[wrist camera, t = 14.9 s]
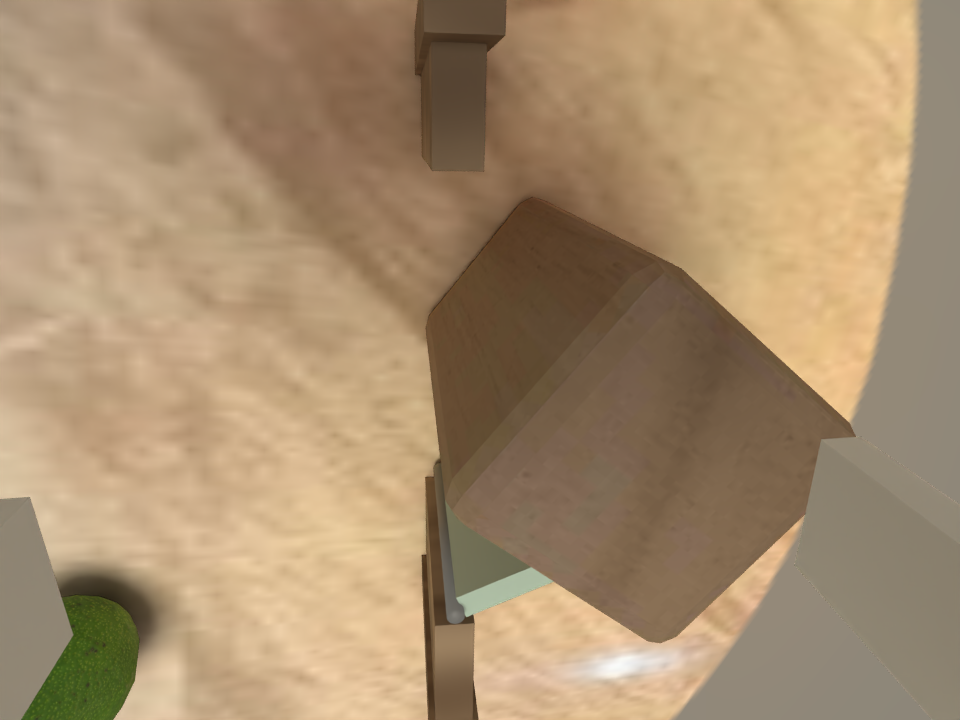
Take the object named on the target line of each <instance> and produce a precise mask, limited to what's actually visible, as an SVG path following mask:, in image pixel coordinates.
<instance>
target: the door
mask: <svg viewBox="0 0 960 720" xmlns="http://www.w3.org/2000/svg"><path fill="white" fill-rule="evenodd" d="M434 480H435V491H436V502H437V514H438V525H439V536H440V547H441V559H442V570H443V581H444V592H445V604H446V615H447V620H448V621H449V622H450V623H452V624H458V623H460V622H462V621H463V620H464V618H465V616H466V617H468V616H471V615H473V614H475V613H478V612H480V611H483V610H485V609H488V608H490V607H493V606H495V605H498V604H500V603H502V602H505V601H507V600H510V599H512V598H515V597H517V596H520V595H522V594H525V593H527V592H529V591H532V590H534V589H537V588H539V587H542V586H544V585H547V584H549V583H551V582H554V581H552V580H551V579H549V578H547V577H546V576H544V575H543V574H541V573H540V572H538V571H536V570H535V569H533V568H532V567H530V566H528V565H527V564H525V563H524V562H522V561H521V560H519V559H517V558H516V557H514V556H513V555H511V554H510V553H508V552H506V551H505V550H503V549H502V548H500V547H499V546H497V545H495V544H494V543H492V542H491V541H489V540H488V539H486V538H484V537H483V536H481V535H480V534H478V533H477V532H475V531H473V530H472V529H470V528H469V527H467V526H466V525H464V524H463V523H462V522H461V521H459V520H458V519H457V518H456V516H455V515H454V513H453V512H452V510H451V509H450V507H449V506H448V504H447V502H446V501H445V495H444V486H443V477H442V469H441V463H437V464H436V465H435V466H434Z"/></svg>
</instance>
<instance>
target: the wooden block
mask: <svg viewBox="0 0 960 720" xmlns="http://www.w3.org/2000/svg"><path fill="white" fill-rule="evenodd" d="M426 336H427V345H428V353H429V362H430V371H431V380H432V389H433V398H434V407H435V415H436V424H437V433H438V442H439V451H440V460H441V469H442V477H443V486H444V495H445V501H446V502H447V504H448V506H449V507H450V509H451V510H452V512H453V513H454V515H455V516H456V518H457V519H458V520H459V521H461V522H462V523H463V524H464V525H466V526H467V527H469V528H470V529H472V530H473V531H475V532H477V533H478V534H480V535H481V536H483V537H484V538H486V539H488V540H489V541H491V542H492V543H494V544H495V545H497V546H499V547H500V548H502V549H503V550H505V551H506V552H508V553H510V554H511V555H513V556H514V557H516V558H517V559H519V560H521V561H522V562H524V563H525V564H527V565H528V566H530V567H532V568H533V569H535V570H536V571H538V572H540V573H541V574H543V575H544V576H546V577H547V578H549V579H551V580H552V581H554V582H555V583H557V584H558V585H560V586H562V587H563V588H565V589H566V590H568V591H569V592H571V593H573V594H574V595H576V596H577V597H579V598H580V599H582V600H584V601H585V602H587V603H588V604H590V605H591V606H593V607H595V608H596V609H598V610H599V611H601V612H602V613H604V614H606V615H607V616H609V617H610V618H612V619H614V620H615V621H617V622H618V623H620V624H621V625H623V626H625V627H626V628H628V629H629V630H631V631H632V632H634V633H636V634H637V635H639V636H640V637H642V638H643V639H645V640H647V641H649V642H656V643H662V642H665V641H667V640H669V639H672V638H674V637H676V636H678V635H679V634H680V633H681V632H682V631H683V630H684V629H685V628H686V627H687V626H688V625H689V624H690V623H691V622H692V621H693V620H694V619H695V618H696V617H697V616H699V615H700V614H701V613H702V612H703V611H704V610H705V609H706V608H707V607H708V606H709V605H710V604H711V603H712V602H713V601H714V600H715V599H716V598H717V597H719V596H720V595H721V594H722V593H723V592H724V591H725V590H726V589H727V588H728V587H729V586H730V585H731V584H732V583H733V582H734V581H735V580H736V579H737V578H739V577H740V576H741V575H742V574H743V573H744V572H745V571H746V570H747V569H748V568H749V567H750V566H751V565H752V564H753V563H754V562H755V561H756V560H757V559H758V558H760V557H761V556H762V555H763V554H764V553H765V552H766V551H767V550H768V549H769V548H770V547H771V546H772V545H773V544H774V543H775V542H776V541H777V540H778V539H780V538H781V537H782V536H783V535H784V534H785V533H786V532H787V531H788V530H789V529H790V528H791V527H792V526H793V525H794V524H795V523H796V522H797V521H798V520H800V519H801V518H802V517H803V516H804V515H805V513H806V508H807V504H808V499H809V494H810V490H811V485H812V480H813V476H814V471H815V466H816V462H817V457H818V452H819V448H820V443H821V439H834V438H848V437H856V436H855V434H854V432H853V430H852V427H851V425H850V423H849V422H848V421H847V420H846V419H844V418H843V417H842V416H841V415H840V414H839V413H838V412H837V411H836V410H835V409H834V408H833V407H831V406H830V405H829V404H828V403H827V402H826V401H825V400H824V399H823V398H822V397H821V396H819V395H818V394H817V393H816V392H815V391H814V390H813V389H812V388H811V387H810V386H809V385H807V384H806V383H805V382H804V381H803V380H802V379H801V378H800V377H799V376H798V375H797V374H796V373H794V372H793V371H792V370H791V369H790V368H789V367H788V366H787V365H786V364H785V363H784V362H782V361H781V360H780V359H779V358H778V357H777V356H776V355H775V354H774V353H773V352H772V351H770V350H769V349H768V348H767V347H766V346H765V345H764V344H763V343H762V342H761V341H760V340H758V339H757V338H756V337H755V336H754V335H753V334H752V333H751V332H750V331H749V330H748V329H747V328H745V327H744V326H743V325H742V324H741V323H740V322H739V321H738V320H737V319H736V318H735V317H733V316H732V315H731V314H730V313H729V312H728V311H727V310H726V309H725V308H724V307H723V306H721V305H720V304H719V303H718V302H717V301H716V300H715V299H714V298H713V297H712V296H711V295H710V294H708V293H707V292H706V291H705V290H704V289H703V288H702V287H701V286H700V285H699V284H698V283H696V282H695V281H694V280H693V279H692V278H691V277H690V276H689V275H688V274H687V273H686V272H684V271H683V270H682V269H681V268H679V267H677V266H675V265H673V264H671V263H669V262H667V261H665V260H663V259H661V258H659V257H657V256H655V255H653V254H651V253H649V252H647V251H645V250H643V249H641V248H639V247H637V246H635V245H633V244H631V243H629V242H627V241H625V240H623V239H621V238H619V237H617V236H615V235H613V234H611V233H609V232H607V231H605V230H603V229H601V228H599V227H597V226H595V225H593V224H591V223H589V222H587V221H584V220H582V219H580V218H578V217H576V216H574V215H572V214H570V213H568V212H566V211H564V210H562V209H560V208H558V207H556V206H554V205H552V204H550V203H548V202H546V201H544V200H540V199H537V198H534V197H531V198H530V199H528V200H526V201H524V202H522V203H521V204H519V206H518V207H517V208H516V209H515V211H514V212H513V213H512V214H511V215H510V217H509V218H508V219H507V220H506V222H505V223H504V224H503V225H502V227H501V228H500V229H499V230H498V231H497V233H496V234H495V235H494V236H493V238H492V239H491V240H490V241H489V243H488V244H487V245H486V246H485V247H484V249H483V250H482V251H481V252H480V254H479V255H478V256H477V257H476V259H475V260H474V261H473V262H472V263H471V265H470V266H469V267H468V268H467V270H466V271H465V272H464V273H463V275H462V276H461V277H460V278H459V279H458V281H457V282H456V283H455V284H454V286H453V287H452V288H451V289H450V291H449V292H448V293H447V294H446V296H445V297H444V298H443V299H442V300H441V302H440V303H439V304H438V305H437V307H436V308H435V309H434V310H433V312H432V313H431V314H430V315H429V318H428V321H427V325H426Z"/></svg>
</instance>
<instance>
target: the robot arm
mask: <svg viewBox="0 0 960 720" xmlns="http://www.w3.org/2000/svg"><path fill="white" fill-rule="evenodd" d="M795 567H797V569H798V570H799V571H800V572H801V573H802V574H803V575H804V577H805V578H806V579H807V580H808V581H809V582H810V583H811V585H812V586H813V587H814V588H815V589H816V590H817V591H818V592H819V593H820V595H821V596H822V597H823V598H824V599H825V600H826V601H827V603H828V604H829V605H830V606H831V607H832V608H833V609H834V610H835V612H836V613H837V614H838V615H839V616H840V617H841V618H842V619H843V621H844V622H845V623H846V624H847V625H848V626H849V627H850V628H851V629H852V631H853V632H854V633H855V634H856V635H857V636H858V637H859V639H860V640H861V641H862V642H863V643H864V644H865V645H866V646H867V648H868V649H869V650H870V651H871V652H872V653H873V654H874V655H875V657H876V658H877V659H878V660H879V661H880V662H881V663H882V664H883V666H884V667H885V668H886V669H887V670H888V671H889V672H890V673H891V675H892V676H893V677H894V678H895V679H896V680H897V681H898V682H899V684H900V685H901V686H902V687H903V688H904V689H905V690H906V691H907V693H908V694H909V695H910V696H911V697H912V698H913V699H914V700H915V701H916V703H917V704H918V705H919V706H920V707H921V708H922V709H923V711H924V712H925V713H926V714H927V715H928V716H929V717H930V718H931V719H932V720H960V504H958V503H957V502H955V501H954V500H952V499H951V498H949V497H948V496H946V495H945V494H943V493H942V492H941V491H939V490H938V489H936V488H935V487H934V486H932V485H931V484H929V483H928V482H926V481H925V480H923V479H922V478H920V477H919V476H917V475H916V474H915V473H913V472H912V471H910V470H909V469H907V468H906V467H904V466H903V465H902V464H900V463H899V462H897V461H896V460H894V459H893V458H891V457H890V456H888V455H887V454H886V453H884V452H883V451H881V450H880V449H878V448H877V447H875V446H874V445H873V444H871V443H870V442H868V441H867V440H865V439H864V438H862V437H848V438H834V439H821V443H820V448H819V452H818V457H817V462H816V466H815V471H814V476H813V480H812V485H811V490H810V494H809V499H808V504H807V508H806V513H805V518H804V522H803V527H802V532H801V536H800V541H799V546H798V551H797V555H796V560H795ZM72 636H73V632H72V629H71V626H70V623H69V620H68V617H67V613H66V610H65V607H64V604H63V601H62V598H61V594H60V591H59V588H58V585H57V582H56V579H55V575H54V572H53V569H52V566H51V563H50V560H49V556H48V553H47V550H46V547H45V544H44V541H43V537H42V534H41V531H40V528H39V525H38V522H37V518H36V515H35V512H34V509H33V506H32V503H31V499H30V497H24V498H10V499H0V720H21V719H22V717H23V716H24V714H25V712H26V711H27V709H28V708H29V706H30V704H31V703H32V701H33V699H34V698H35V696H36V695H37V693H38V691H39V690H40V688H41V687H42V685H43V683H44V682H45V680H46V678H47V677H48V675H49V674H50V672H51V670H52V669H53V667H54V666H55V664H56V662H57V661H58V659H59V657H60V656H61V654H62V653H63V651H64V649H65V648H66V646H67V645H68V643H69V641H70V640H71V638H72Z"/></svg>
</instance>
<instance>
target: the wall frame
mask: <svg viewBox="0 0 960 720" xmlns="http://www.w3.org/2000/svg"><path fill="white" fill-rule="evenodd" d="M505 28H506V0H418V5H417V14H416V23H415V75H421V120H422V157H423V159H424V160H425V161H426V163H427V164H428V166H429V167H430V168H431V170H432V171H479V172H484V155H485V108H486V61H487V52H488V51H489V50H490V49H491V48H492V47H493V46H494V45H495V44H496V43H498V42H499V41H500V40H501V39H502V38H503V37H504V36H505ZM425 481H426V555H422V586H423V610H424V634H425V658H426V682H427V706H428V720H478V712H477V705H476V697H475V689H474V681H473V672H474V625H475V623H474V616H473V615H471V616H468V617H466V616H465V618H464V620H463V621H462V622H460V623H458V624H452V623H450V622H449V621H448V620H447V615H446V604H445V592H444V581H443V570H442V559H441V547H440V536H439V525H438V514H437V502H436V491H435V480H434V477H425Z"/></svg>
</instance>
